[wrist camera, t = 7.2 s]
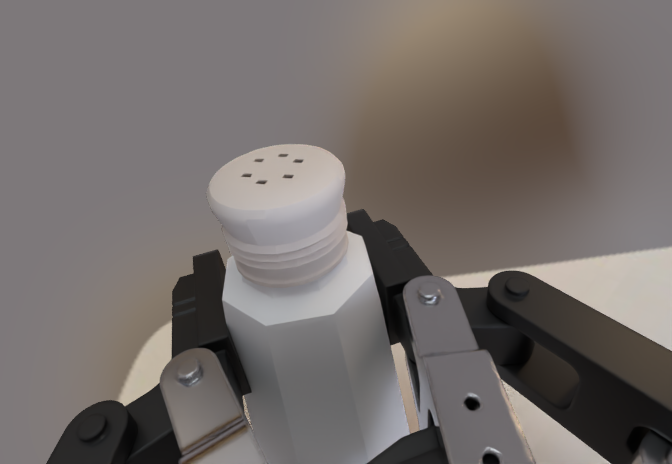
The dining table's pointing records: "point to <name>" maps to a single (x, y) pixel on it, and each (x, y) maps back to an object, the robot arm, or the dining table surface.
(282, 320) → the salt shaker
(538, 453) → the dining table surface
